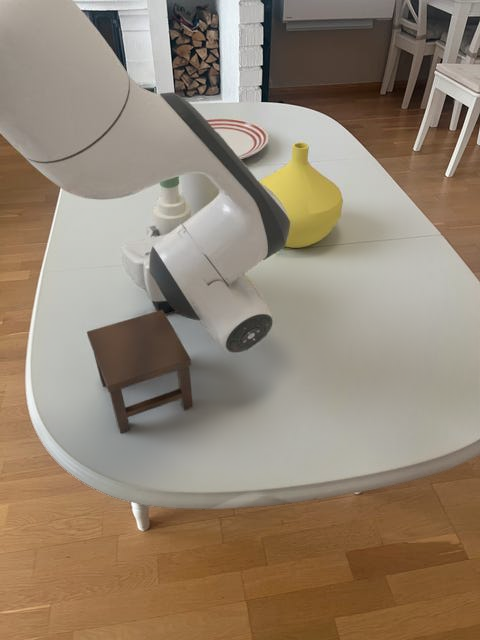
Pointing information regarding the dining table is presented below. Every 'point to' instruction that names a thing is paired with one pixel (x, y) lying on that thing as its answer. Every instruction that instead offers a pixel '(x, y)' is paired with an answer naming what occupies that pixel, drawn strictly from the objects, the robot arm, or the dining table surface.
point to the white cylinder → (197, 191)
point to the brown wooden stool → (140, 361)
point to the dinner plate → (240, 135)
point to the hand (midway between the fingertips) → (171, 225)
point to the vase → (305, 198)
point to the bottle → (170, 208)
